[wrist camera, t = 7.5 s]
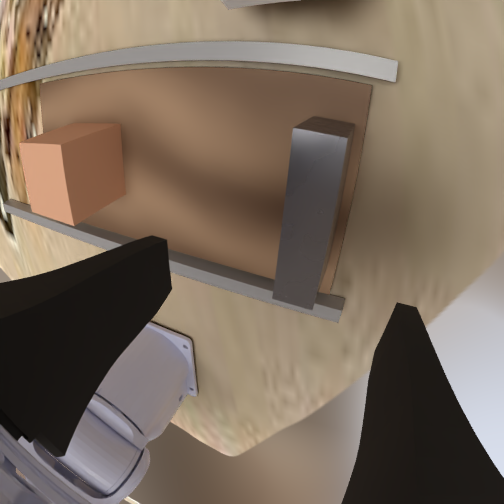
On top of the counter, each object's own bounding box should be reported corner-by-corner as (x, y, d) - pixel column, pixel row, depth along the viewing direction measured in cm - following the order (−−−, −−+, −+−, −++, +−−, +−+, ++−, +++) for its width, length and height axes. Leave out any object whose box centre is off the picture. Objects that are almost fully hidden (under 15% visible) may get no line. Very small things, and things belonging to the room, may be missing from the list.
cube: (126, 194, 21) (74, 226, 17) (80, 184, 22) (32, 211, 18) (120, 123, 18) (60, 144, 14) (73, 123, 20) (19, 142, 16)
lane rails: (341, 310, 20) (338, 322, 19) (12, 206, 30) (4, 211, 29) (396, 62, 12) (398, 61, 11) (-6, 83, 22) (-15, 85, 21)
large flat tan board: (330, 289, 19) (314, 341, 16) (60, 211, 26) (24, 234, 22) (371, 85, 13) (369, 86, 9) (44, 82, 19) (-1, 94, 16)
